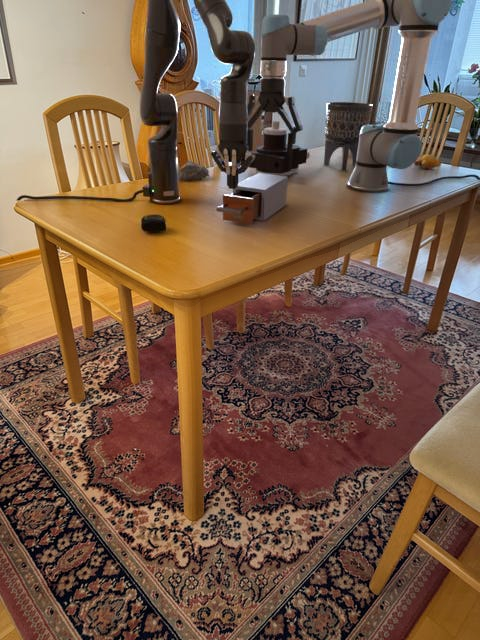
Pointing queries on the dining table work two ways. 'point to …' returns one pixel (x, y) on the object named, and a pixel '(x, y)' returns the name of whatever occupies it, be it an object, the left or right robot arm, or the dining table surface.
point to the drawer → (241, 206)
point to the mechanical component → (277, 154)
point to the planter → (345, 129)
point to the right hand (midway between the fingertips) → (269, 153)
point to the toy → (427, 162)
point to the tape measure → (153, 223)
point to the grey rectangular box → (266, 192)
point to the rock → (192, 172)
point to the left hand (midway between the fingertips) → (232, 188)
